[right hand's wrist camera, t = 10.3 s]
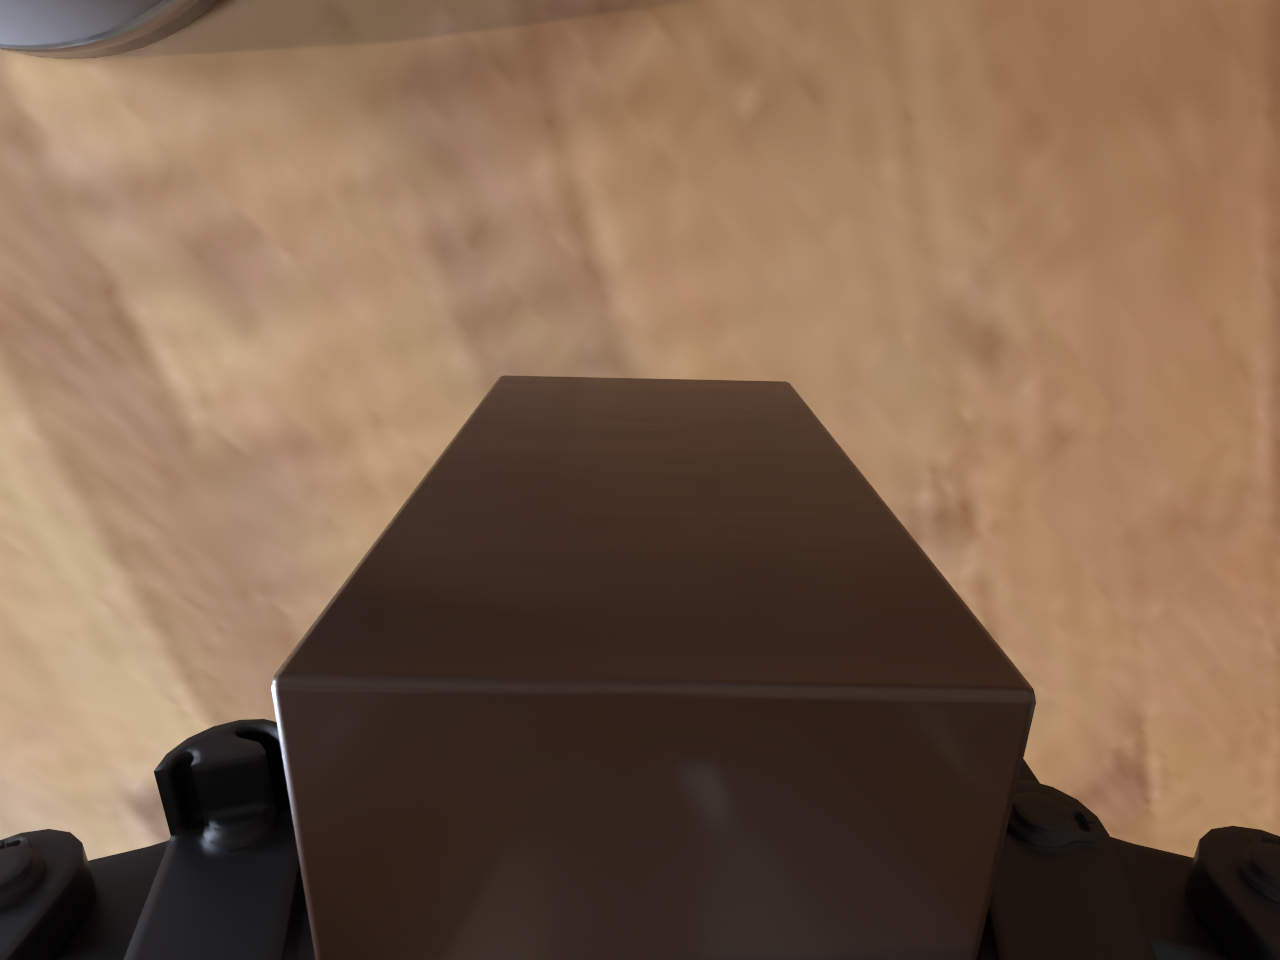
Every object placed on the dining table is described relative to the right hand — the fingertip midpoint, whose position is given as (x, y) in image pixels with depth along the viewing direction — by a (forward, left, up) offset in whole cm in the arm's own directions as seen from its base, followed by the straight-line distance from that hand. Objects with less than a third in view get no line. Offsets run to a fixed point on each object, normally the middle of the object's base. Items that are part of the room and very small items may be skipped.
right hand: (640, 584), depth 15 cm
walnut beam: (0, -12, 0) cm, 12 cm away
